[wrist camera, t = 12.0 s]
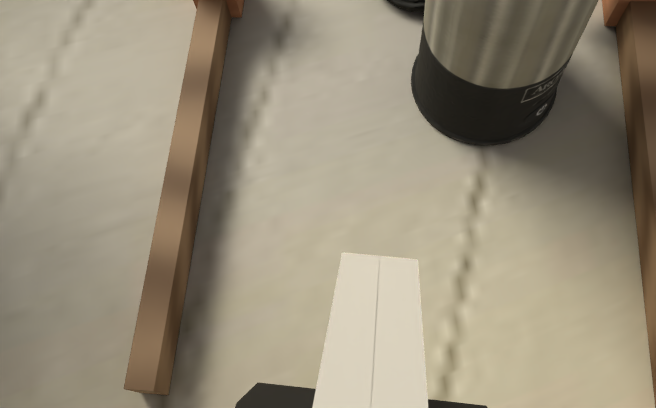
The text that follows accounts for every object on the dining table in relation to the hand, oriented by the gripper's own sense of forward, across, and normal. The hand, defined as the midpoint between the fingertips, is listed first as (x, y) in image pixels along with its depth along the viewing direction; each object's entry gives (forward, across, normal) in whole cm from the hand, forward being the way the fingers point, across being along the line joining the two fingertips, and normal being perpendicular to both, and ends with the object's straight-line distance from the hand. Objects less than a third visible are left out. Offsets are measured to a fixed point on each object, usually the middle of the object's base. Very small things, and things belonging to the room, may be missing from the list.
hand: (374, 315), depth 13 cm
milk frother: (+33, +4, +2) cm, 33 cm away
